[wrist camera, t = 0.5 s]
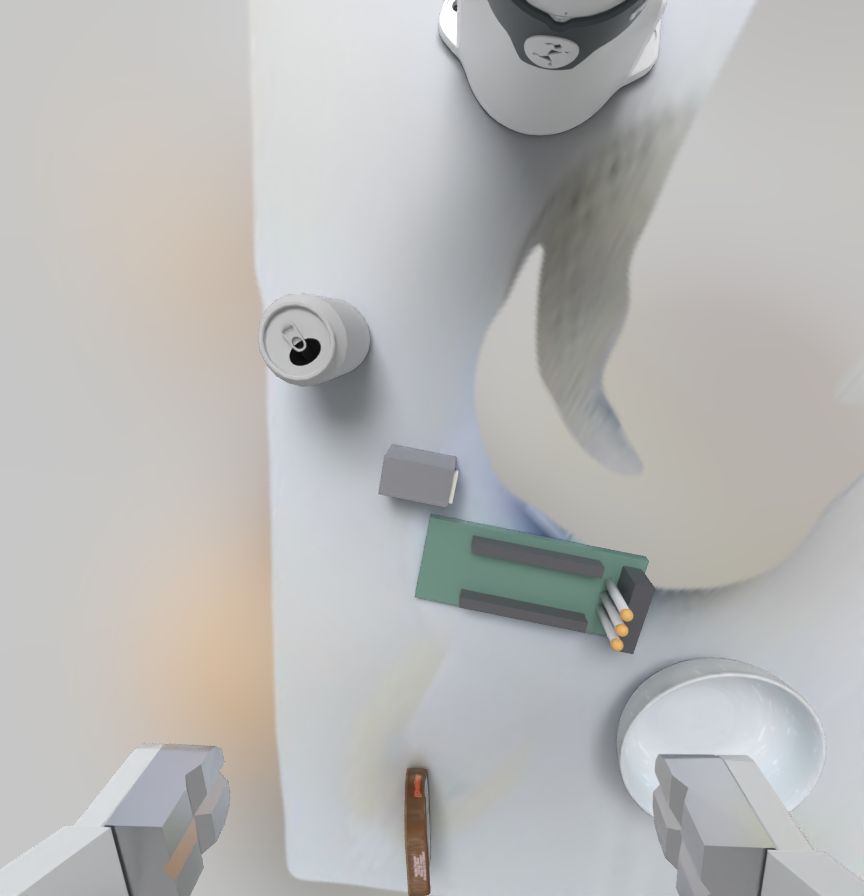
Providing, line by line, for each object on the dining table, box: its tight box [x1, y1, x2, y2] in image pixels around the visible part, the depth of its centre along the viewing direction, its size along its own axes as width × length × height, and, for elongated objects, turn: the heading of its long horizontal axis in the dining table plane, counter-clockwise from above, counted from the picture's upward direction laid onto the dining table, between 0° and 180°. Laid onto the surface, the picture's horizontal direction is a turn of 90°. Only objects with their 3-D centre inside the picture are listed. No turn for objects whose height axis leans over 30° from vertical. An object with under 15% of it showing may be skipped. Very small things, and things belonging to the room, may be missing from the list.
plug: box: [378, 444, 458, 508], centre depth 50 cm, size 4×7×5 cm, turn 80°
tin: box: [404, 768, 431, 896], centre depth 59 cm, size 15×3×8 cm, turn 2°
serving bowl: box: [617, 658, 826, 818], centre depth 54 cm, size 21×21×7 cm
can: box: [258, 293, 370, 387], centre depth 43 cm, size 8×8×12 cm
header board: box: [415, 514, 655, 654], centre depth 50 cm, size 10×24×8 cm, turn 80°
